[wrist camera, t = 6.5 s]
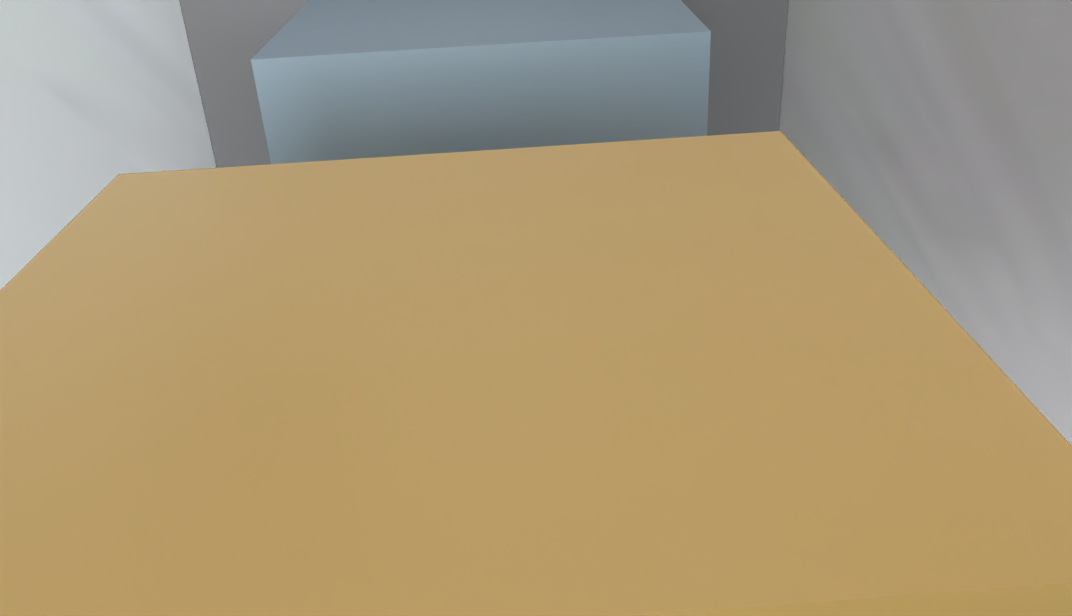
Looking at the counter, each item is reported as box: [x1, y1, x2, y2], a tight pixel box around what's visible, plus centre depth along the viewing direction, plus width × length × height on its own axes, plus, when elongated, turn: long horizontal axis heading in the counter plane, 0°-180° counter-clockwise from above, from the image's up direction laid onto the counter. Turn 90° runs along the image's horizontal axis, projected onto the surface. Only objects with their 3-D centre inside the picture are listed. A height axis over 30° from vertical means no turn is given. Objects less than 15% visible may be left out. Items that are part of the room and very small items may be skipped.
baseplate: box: [179, 0, 788, 168], centre depth 20 cm, size 12×12×2 cm
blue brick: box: [251, 0, 711, 164], centre depth 17 cm, size 6×6×7 cm
